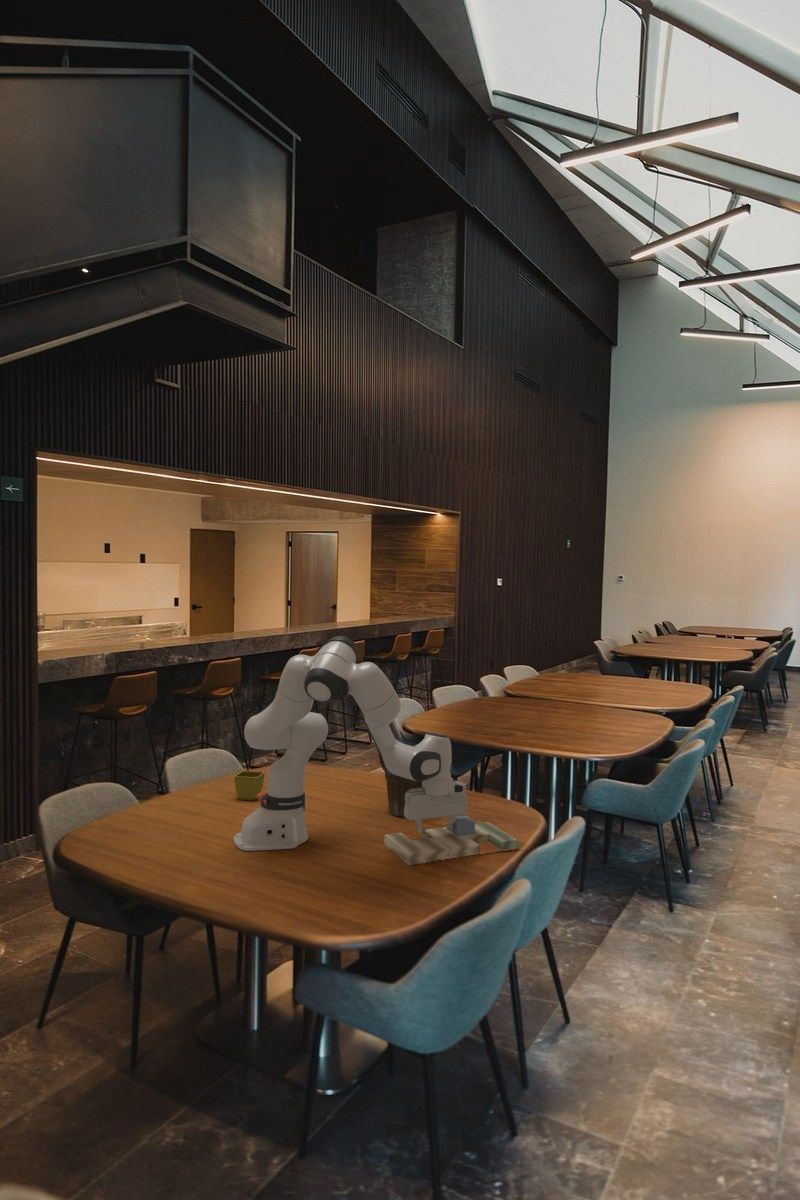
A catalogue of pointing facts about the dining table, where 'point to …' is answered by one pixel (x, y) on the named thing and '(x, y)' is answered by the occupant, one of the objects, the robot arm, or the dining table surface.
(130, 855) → the dining table surface
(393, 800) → the plant pot
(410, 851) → the wooden cutout board
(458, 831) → the slate block
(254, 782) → the flower pot
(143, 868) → the dining table surface
